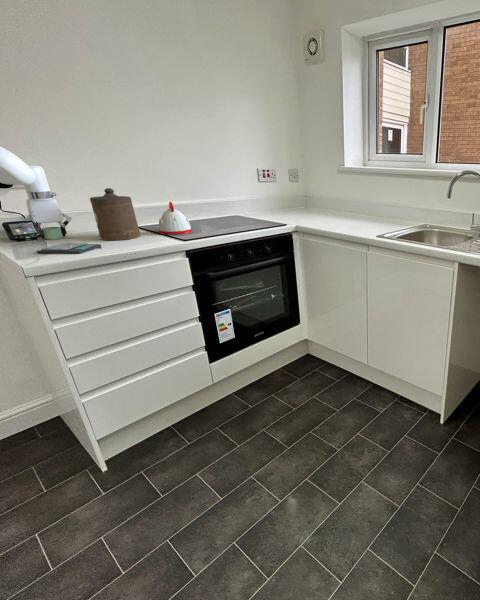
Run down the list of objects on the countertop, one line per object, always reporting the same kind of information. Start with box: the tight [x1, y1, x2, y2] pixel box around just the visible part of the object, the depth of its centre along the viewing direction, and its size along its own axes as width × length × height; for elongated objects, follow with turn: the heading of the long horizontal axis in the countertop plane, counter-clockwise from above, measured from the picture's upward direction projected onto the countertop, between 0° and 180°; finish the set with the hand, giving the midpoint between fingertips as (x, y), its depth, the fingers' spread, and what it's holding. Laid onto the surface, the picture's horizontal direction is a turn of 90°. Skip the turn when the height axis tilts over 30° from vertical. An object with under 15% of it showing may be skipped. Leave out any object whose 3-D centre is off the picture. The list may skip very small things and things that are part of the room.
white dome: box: [158, 201, 193, 236], centre depth 176 cm, size 14×14×15 cm
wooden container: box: [89, 187, 141, 241], centre depth 159 cm, size 15×15×22 cm
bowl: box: [40, 226, 64, 241], centre depth 156 cm, size 6×6×5 cm
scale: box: [36, 242, 102, 255], centre depth 134 cm, size 14×12×3 cm
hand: (53, 236), depth 157 cm, fingers closed on bowl, 6 cm apart
